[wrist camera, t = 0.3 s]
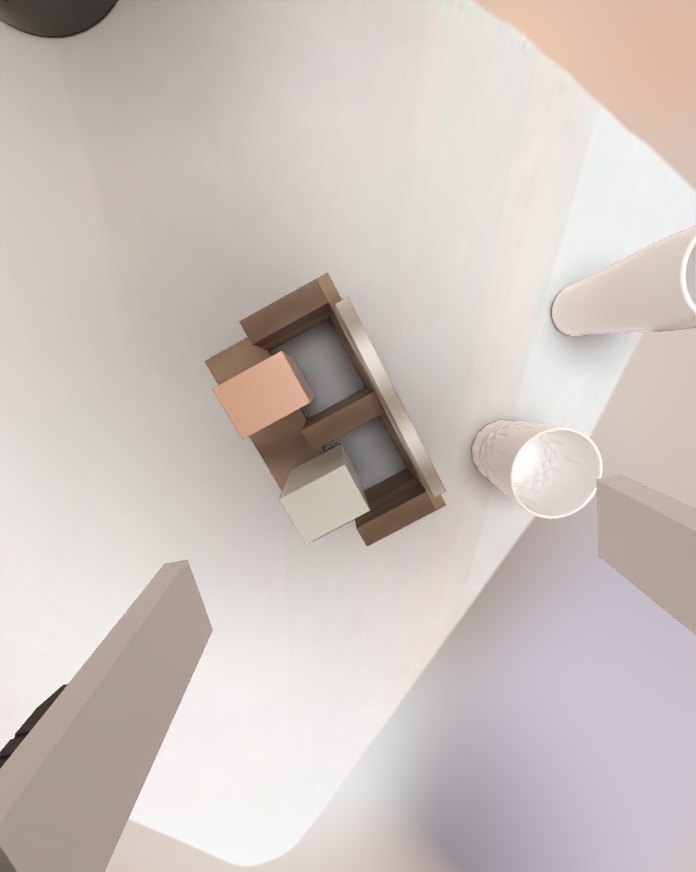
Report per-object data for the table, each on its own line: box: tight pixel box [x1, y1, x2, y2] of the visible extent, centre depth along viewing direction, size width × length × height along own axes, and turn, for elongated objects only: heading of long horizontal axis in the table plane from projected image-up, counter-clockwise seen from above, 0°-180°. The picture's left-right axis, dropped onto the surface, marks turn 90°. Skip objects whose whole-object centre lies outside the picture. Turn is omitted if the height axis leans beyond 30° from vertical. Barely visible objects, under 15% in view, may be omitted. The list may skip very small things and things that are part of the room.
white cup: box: [472, 420, 603, 519], centre depth 35 cm, size 8×8×10 cm
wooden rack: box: [205, 273, 446, 546], centre depth 32 cm, size 22×14×12 cm, turn 28°
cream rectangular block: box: [279, 444, 370, 544], centre depth 33 cm, size 4×6×9 cm
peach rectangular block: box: [212, 351, 315, 439], centre depth 32 cm, size 4×6×9 cm
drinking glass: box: [552, 225, 696, 336], centre depth 30 cm, size 7×7×15 cm
